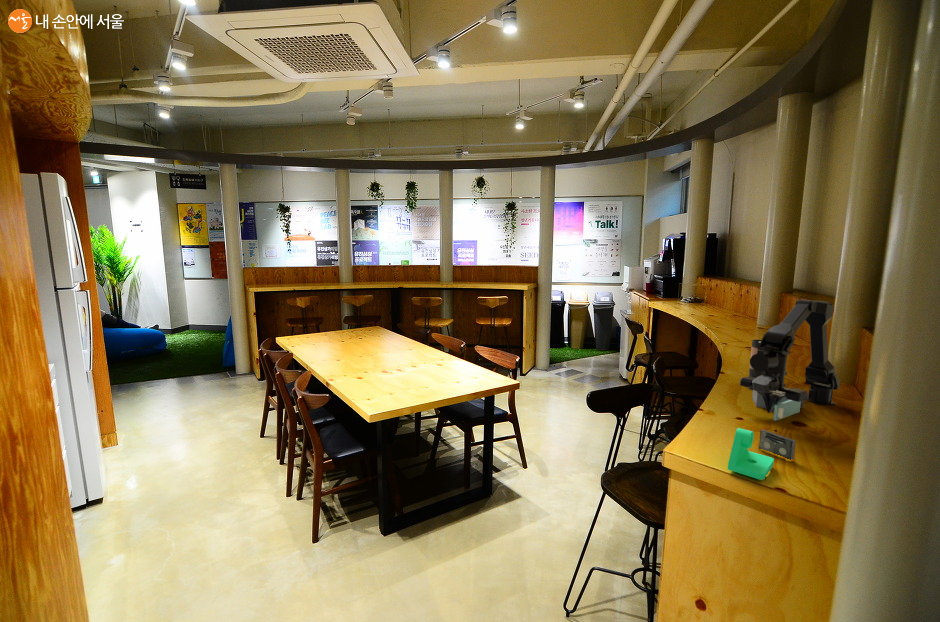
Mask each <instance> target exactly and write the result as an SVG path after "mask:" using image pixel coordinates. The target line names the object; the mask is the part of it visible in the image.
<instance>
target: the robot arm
mask: <svg viewBox="0 0 940 622" xmlns="http://www.w3.org/2000/svg"><path fill="white" fill-rule="evenodd" d="M834 311H835V307H834V305H833V303H831V302H830V301H824V300H809V299H797V300H796V301H795V305H794V307H793V308H791V310H790V311H789V313H788V314H787V315H786V316H785V317H784V318H783V320H782V321H781V322H780V323H779V324H776V325H773V326H771V327H770V328H769V329H767V331H766V332H764V334H763V336H762V339H760V340H761V342H760V344H759V346H758V348H757V349H758V351H757V354H754V355H753V356H752V357H751V356H750V357H751V359H750V358H749V366H750V365H751V367H752V368H753V369H754V370H756V371H762V372H761V375H760V376H758V377H757V378H755V377H751V376H749V375H748V376H744V377H741V378H740V380H739V386H741V387H745V388H748V387H750V386H751V385H753V390H755V391H757V393H759V394H760V395H761V396H762V397H763V399H764V402H765V406H766V408H765V409H766V412H767V413H768V414H772V412H773V411H774V407H775V405H776V404H777V403H778V402H779V401H780V400H781V399H782V398H783V397H786V398H787V399H789V400H793V401H796V402H800V401H804V402H805V401H809V402H812V403H814V404H816V405H820V406H823V405H831V406H832V405H836V403H835V401H832V400H833V393H834V390H836V391H838V389H839V388H840V380H839V378H838V375H837V374H836V371H835V370H836V369H835V366H834V365H833V364H832V363H831V361H829V349H828V347H829V346H828V345H829V344H828V342H829V341H828V323H829V322H830V321H831V319H832V318H833V315H834ZM804 322H805V323H807V324H808V325H809V337H810V338H809V339H810V358H811V359H810V362H809V364H808V365H807V366H806V367H805V373H804V377H805V378H804V379H805V384H806V385H810V387H809V389H808V391H807V390H803V389H800V388H796V387H795V388H794V387H793V388H787V389H785V388H786V383H785V377H786V376H787V375H788V371H786V369H787V362H788V355H790V354H791V352H790V350H791V348H792V347H793V345H794V344H795V340H796V337H795V334H796V332H797V331H798V329H799V328H800V327H801V326H802V325H803V324H804ZM766 345H767V346H766ZM753 390H752V391H753Z"/></svg>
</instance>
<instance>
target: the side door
mask: <svg viewBox="0 0 940 622" xmlns="http://www.w3.org/2000/svg"><path fill="white" fill-rule="evenodd" d="M800 405H801V401H800V402H796V401H793V400H788V401H785V402H782V403H779V404H776V405H775V407H774V409H773V417H772V421H776V422H777V421H779V420H782V419H785V418H787V417H790V416H792V415H795V414H798V413H800V412H801V407H800Z"/></svg>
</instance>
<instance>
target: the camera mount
mask: <svg viewBox="0 0 940 622" xmlns="http://www.w3.org/2000/svg"><path fill="white" fill-rule="evenodd" d="M754 434H755V433H754V431H753V430H749V429H744V428H740V427H737V428H736V430H735V434H734V437H733V442H732V447H731V449H730V454H729V458H728V462H727V470H729V471H732V472H735V473H738V474H741V475H744V476H748V477H750V478H753V479H756V480H760V481H762V480H765V477H766V475H767V474H768V472H769V471H770V469H771V470H772V468H773V467H774V463H775V458H774V457H771V456H768V455H764V454H760V453H757V452H753V451H750V450H748V449H751V448H752V446H753V442H754V437H755V435H754ZM772 466H773V467H772Z"/></svg>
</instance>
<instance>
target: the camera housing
mask: <svg viewBox="0 0 940 622" xmlns="http://www.w3.org/2000/svg"><path fill="white" fill-rule="evenodd" d="M784 388H785V389H788V388H787V387H784ZM751 398H752V401H753V403H754V406H755V407H756V408H763V409H766V406H765V402H764V399H763V397H762V396H761V395H760V394H759V393H757V391H755V390H752V397H751ZM788 400H789V399H787V398H786V397H783V398H782V399H781V400H780V401H779V402H778V403H777V404H779V403H782V402H785V401H788ZM804 406H805V400H804V401H801V405H800V408H804Z"/></svg>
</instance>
